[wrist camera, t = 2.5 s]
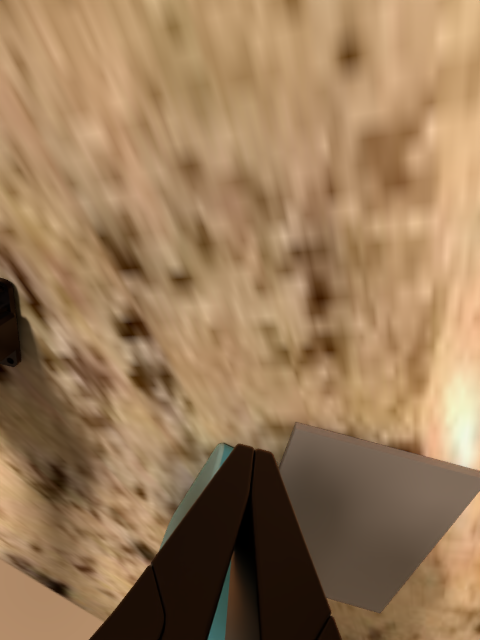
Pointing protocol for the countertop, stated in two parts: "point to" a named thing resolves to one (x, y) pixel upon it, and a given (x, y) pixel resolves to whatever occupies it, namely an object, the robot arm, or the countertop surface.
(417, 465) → the mat
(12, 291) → the robot arm
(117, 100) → the countertop surface
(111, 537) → the countertop surface
